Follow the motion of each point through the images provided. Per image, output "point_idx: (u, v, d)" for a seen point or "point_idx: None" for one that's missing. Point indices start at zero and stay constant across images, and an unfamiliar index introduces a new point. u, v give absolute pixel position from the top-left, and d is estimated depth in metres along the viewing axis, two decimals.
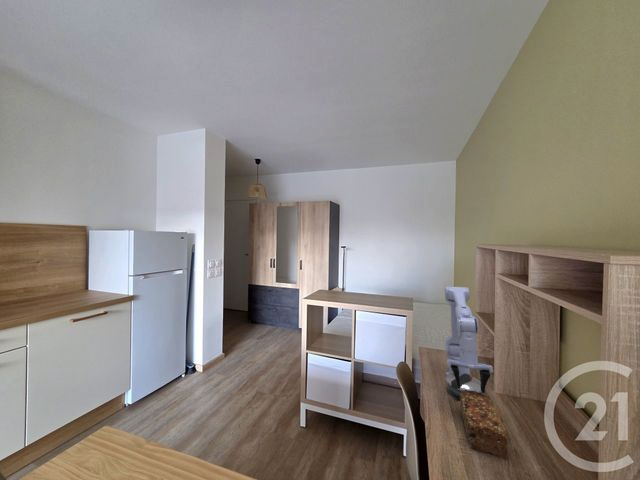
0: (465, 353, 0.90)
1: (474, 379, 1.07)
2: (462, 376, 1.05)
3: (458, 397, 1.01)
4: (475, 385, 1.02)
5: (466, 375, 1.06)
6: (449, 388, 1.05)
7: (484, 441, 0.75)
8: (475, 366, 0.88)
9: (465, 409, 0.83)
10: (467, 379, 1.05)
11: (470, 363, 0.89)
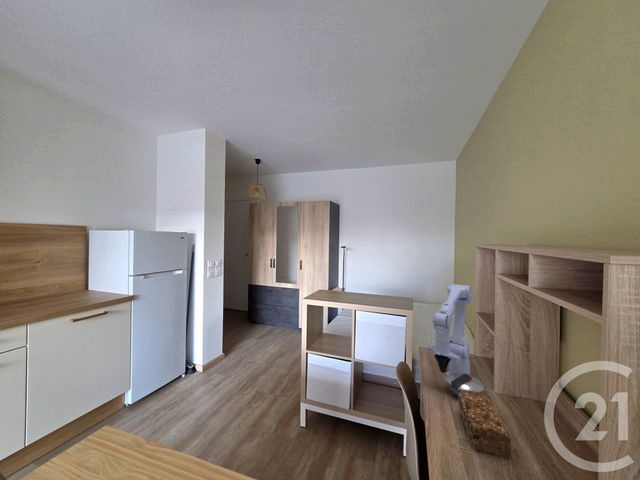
0: (436, 342, 1.07)
1: (474, 379, 1.07)
2: (462, 376, 1.05)
3: None
4: (475, 385, 1.02)
5: (466, 375, 1.06)
6: (449, 388, 1.05)
7: (488, 442, 0.74)
8: (442, 354, 1.05)
9: (466, 410, 0.83)
10: (467, 379, 1.05)
11: (438, 351, 1.06)
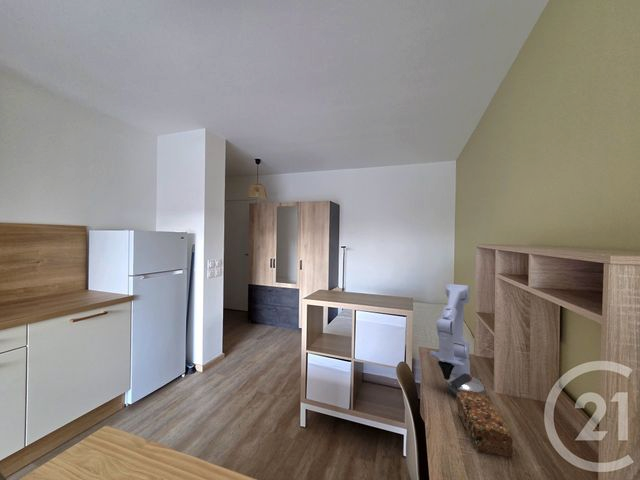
0: (439, 348, 1.06)
1: (474, 379, 1.07)
2: (462, 376, 1.05)
3: None
4: (475, 385, 1.02)
5: (466, 375, 1.06)
6: (449, 388, 1.05)
7: (490, 443, 0.74)
8: (446, 360, 1.03)
9: (467, 411, 0.82)
10: (467, 379, 1.05)
11: (442, 357, 1.05)
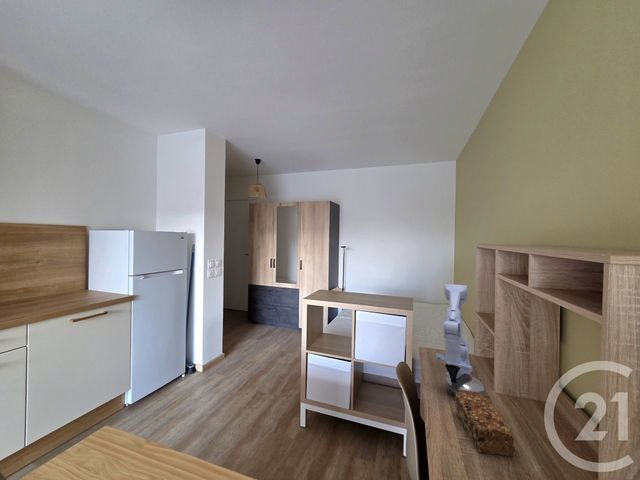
0: (446, 351, 1.03)
1: (474, 379, 1.07)
2: (462, 376, 1.05)
3: None
4: (475, 385, 1.02)
5: (466, 375, 1.06)
6: (449, 388, 1.05)
7: (493, 443, 0.74)
8: (453, 363, 1.01)
9: (467, 412, 0.82)
10: (467, 379, 1.05)
11: (449, 360, 1.02)
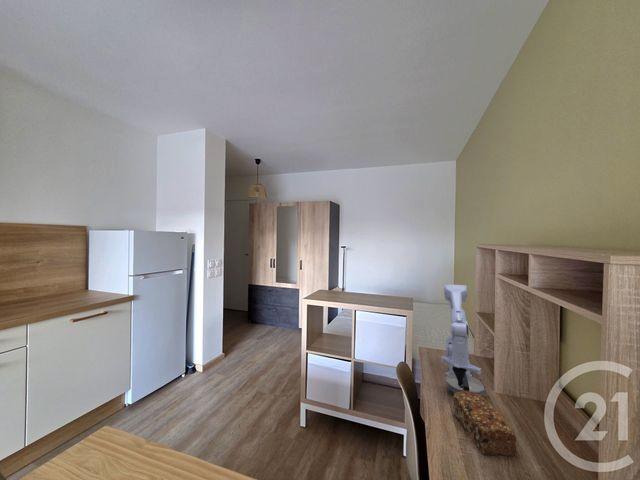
0: (453, 354, 1.01)
1: (467, 376, 1.09)
2: None
3: None
4: (475, 382, 1.04)
5: None
6: (449, 388, 1.05)
7: (496, 443, 0.74)
8: (461, 366, 0.98)
9: (469, 413, 0.81)
10: (466, 378, 1.05)
11: (457, 363, 0.99)
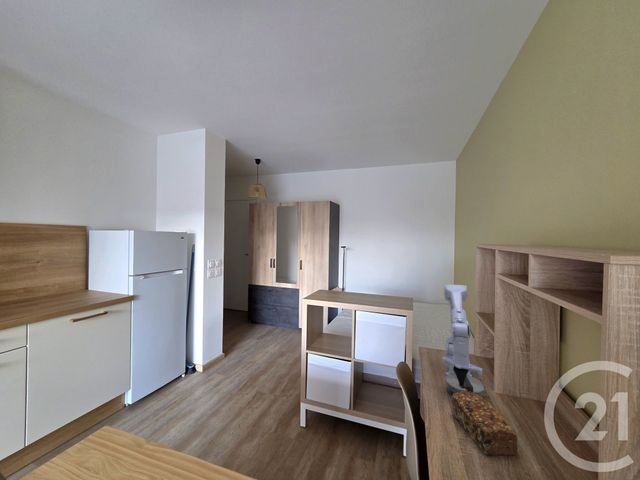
0: (455, 354, 1.00)
1: None
2: None
3: None
4: (474, 381, 1.05)
5: None
6: (449, 388, 1.05)
7: (498, 444, 0.74)
8: (463, 367, 0.98)
9: (470, 414, 0.81)
10: None
11: (458, 364, 0.99)
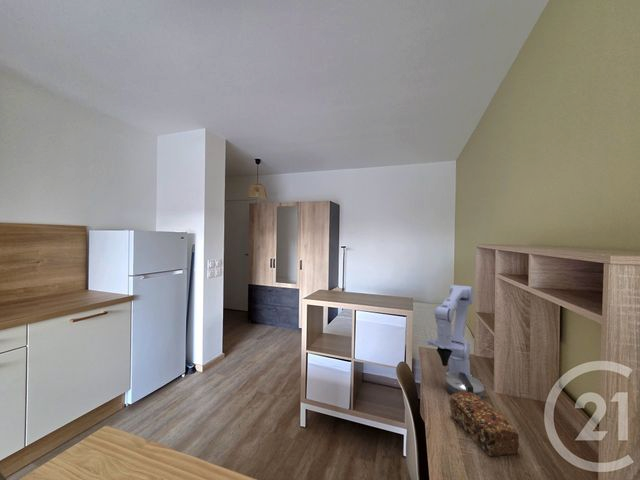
0: (439, 336, 1.08)
1: None
2: (463, 377, 1.05)
3: None
4: (474, 381, 1.05)
5: (463, 374, 1.07)
6: (449, 388, 1.05)
7: (502, 444, 0.74)
8: (446, 347, 1.06)
9: (471, 415, 0.81)
10: None
11: (442, 344, 1.07)
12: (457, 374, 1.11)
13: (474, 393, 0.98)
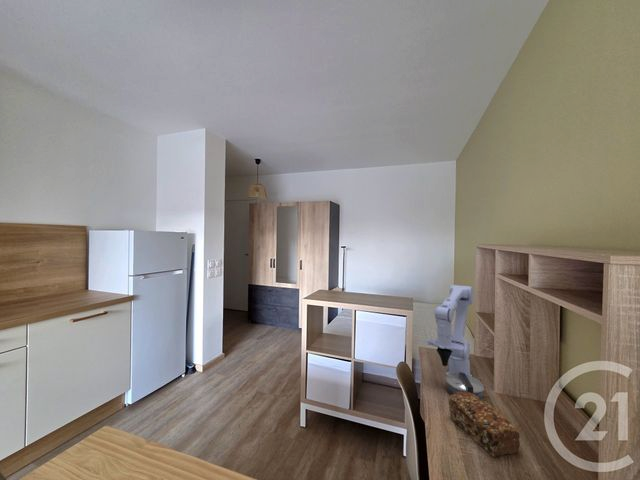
0: (439, 336, 1.08)
1: None
2: (463, 377, 1.05)
3: None
4: (474, 381, 1.05)
5: (463, 374, 1.07)
6: (449, 388, 1.05)
7: (504, 444, 0.74)
8: (446, 347, 1.06)
9: (473, 416, 0.80)
10: None
11: (442, 344, 1.07)
12: (457, 374, 1.11)
13: (474, 393, 0.98)
